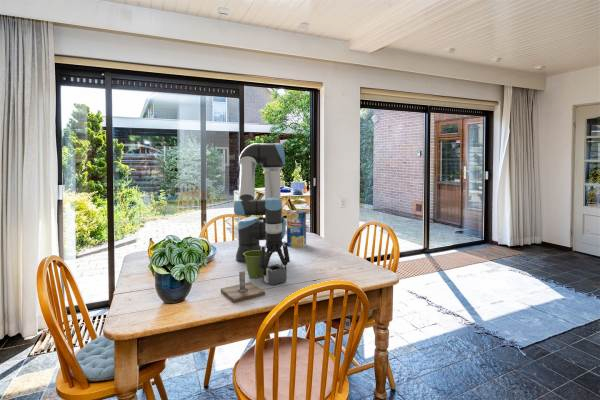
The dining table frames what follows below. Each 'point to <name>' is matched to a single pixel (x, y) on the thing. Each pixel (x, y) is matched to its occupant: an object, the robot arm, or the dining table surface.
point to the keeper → (242, 290)
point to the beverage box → (296, 228)
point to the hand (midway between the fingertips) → (274, 279)
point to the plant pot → (253, 263)
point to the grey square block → (276, 274)
